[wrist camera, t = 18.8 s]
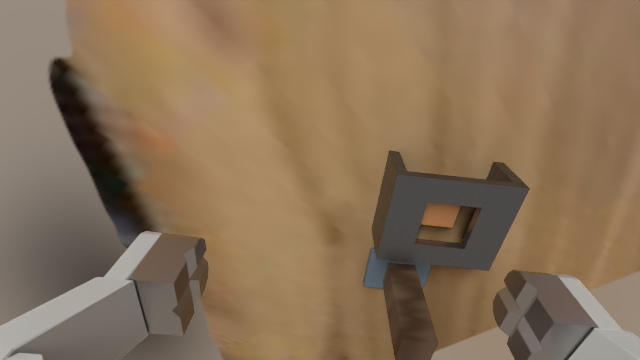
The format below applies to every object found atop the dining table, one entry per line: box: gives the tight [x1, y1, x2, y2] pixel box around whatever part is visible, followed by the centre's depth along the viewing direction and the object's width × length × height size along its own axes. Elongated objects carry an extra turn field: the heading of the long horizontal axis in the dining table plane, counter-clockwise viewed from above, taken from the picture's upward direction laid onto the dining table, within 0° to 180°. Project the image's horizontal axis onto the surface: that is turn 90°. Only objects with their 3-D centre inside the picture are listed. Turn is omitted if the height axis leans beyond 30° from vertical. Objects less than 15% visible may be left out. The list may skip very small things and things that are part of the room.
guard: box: [372, 151, 530, 271], centre depth 39 cm, size 14×12×6 cm
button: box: [421, 202, 461, 228], centre depth 40 cm, size 5×5×2 cm
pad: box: [363, 248, 432, 290], centre depth 47 cm, size 9×7×1 cm
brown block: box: [383, 262, 438, 360], centre depth 42 cm, size 4×4×12 cm
